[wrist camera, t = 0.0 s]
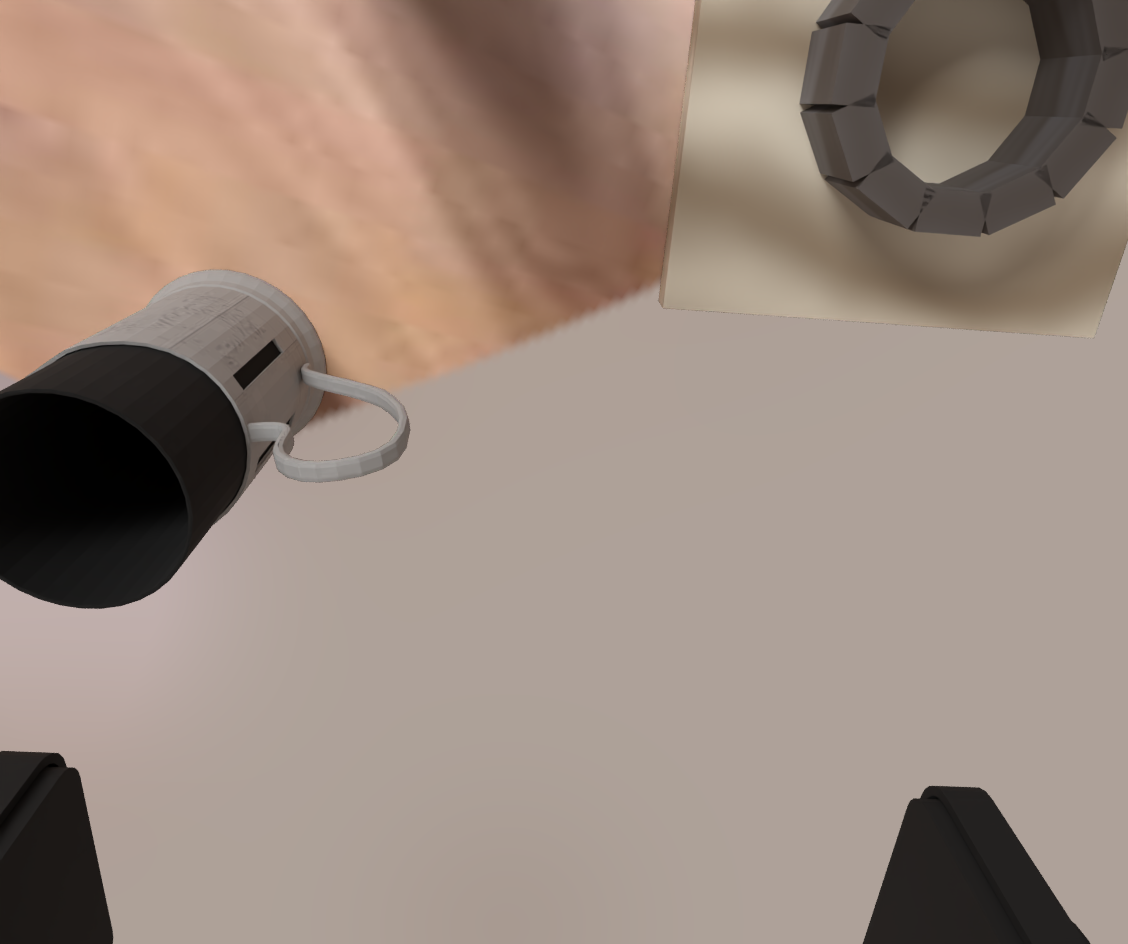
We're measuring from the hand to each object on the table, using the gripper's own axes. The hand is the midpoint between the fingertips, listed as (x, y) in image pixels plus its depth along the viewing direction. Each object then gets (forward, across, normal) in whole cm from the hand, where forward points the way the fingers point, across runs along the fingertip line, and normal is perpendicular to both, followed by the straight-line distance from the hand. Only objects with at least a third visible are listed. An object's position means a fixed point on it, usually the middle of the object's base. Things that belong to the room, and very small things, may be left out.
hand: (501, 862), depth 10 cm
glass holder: (+31, +11, +4) cm, 34 cm away
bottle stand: (+31, -16, -10) cm, 36 cm away
